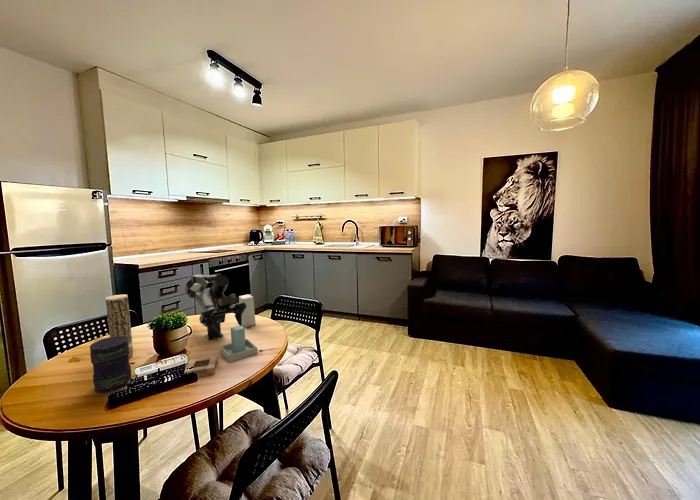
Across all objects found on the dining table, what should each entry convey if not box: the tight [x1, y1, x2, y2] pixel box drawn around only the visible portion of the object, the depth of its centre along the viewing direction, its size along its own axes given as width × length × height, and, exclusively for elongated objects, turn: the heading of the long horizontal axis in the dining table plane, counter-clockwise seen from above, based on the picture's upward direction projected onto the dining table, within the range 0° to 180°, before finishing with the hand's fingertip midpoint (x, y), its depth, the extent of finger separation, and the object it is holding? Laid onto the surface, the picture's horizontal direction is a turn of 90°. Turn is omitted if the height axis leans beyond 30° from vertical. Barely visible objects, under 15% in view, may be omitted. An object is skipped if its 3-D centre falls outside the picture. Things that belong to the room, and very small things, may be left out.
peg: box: [230, 325, 246, 353], centre depth 118 cm, size 4×4×10 cm
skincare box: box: [238, 293, 256, 328], centre depth 152 cm, size 8×6×15 cm
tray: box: [219, 338, 258, 363], centre depth 119 cm, size 11×11×3 cm
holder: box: [183, 355, 219, 378], centre depth 106 cm, size 9×9×2 cm
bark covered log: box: [105, 293, 134, 358], centre depth 115 cm, size 7×7×25 cm
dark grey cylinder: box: [89, 336, 133, 395], centre depth 96 cm, size 10×10×15 cm
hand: (230, 329), depth 123 cm, fingers open, 9 cm apart
